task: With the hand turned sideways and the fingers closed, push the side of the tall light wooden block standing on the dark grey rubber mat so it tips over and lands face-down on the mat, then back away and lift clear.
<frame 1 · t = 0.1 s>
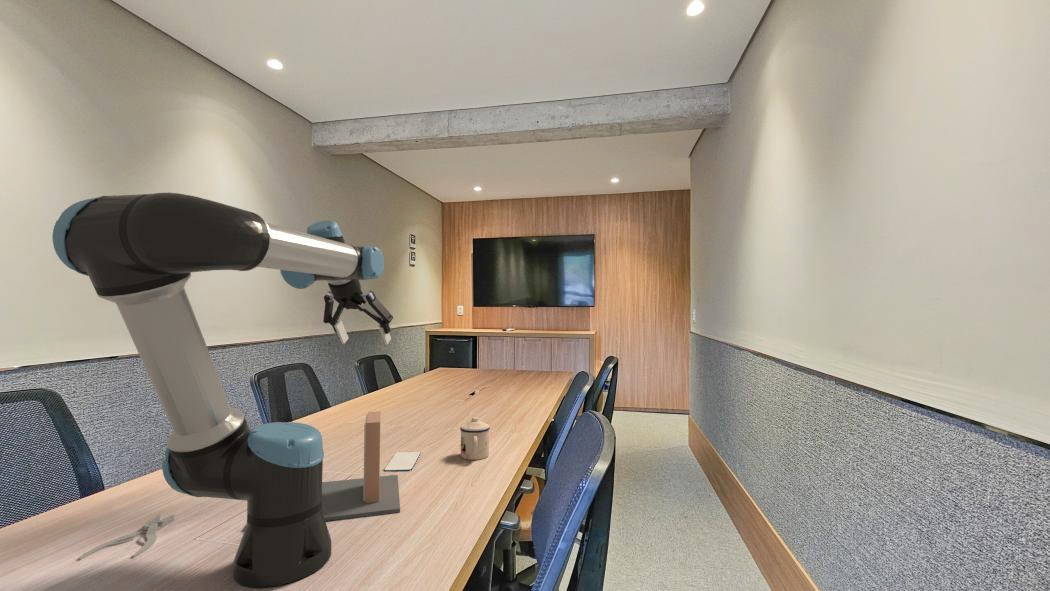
hand: (366, 341, 130), 36 cm above the table, tool tilted 35°, fingers open, 13 cm apart
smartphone: (403, 463, 133), on the table
teacup with lid: (474, 458, 138), on the table
rubber mat: (332, 500, 105), on the table
light wooden block: (372, 492, 108), point 1 cm above the table, touching rubber mat
pliers: (138, 541, 88), on the table
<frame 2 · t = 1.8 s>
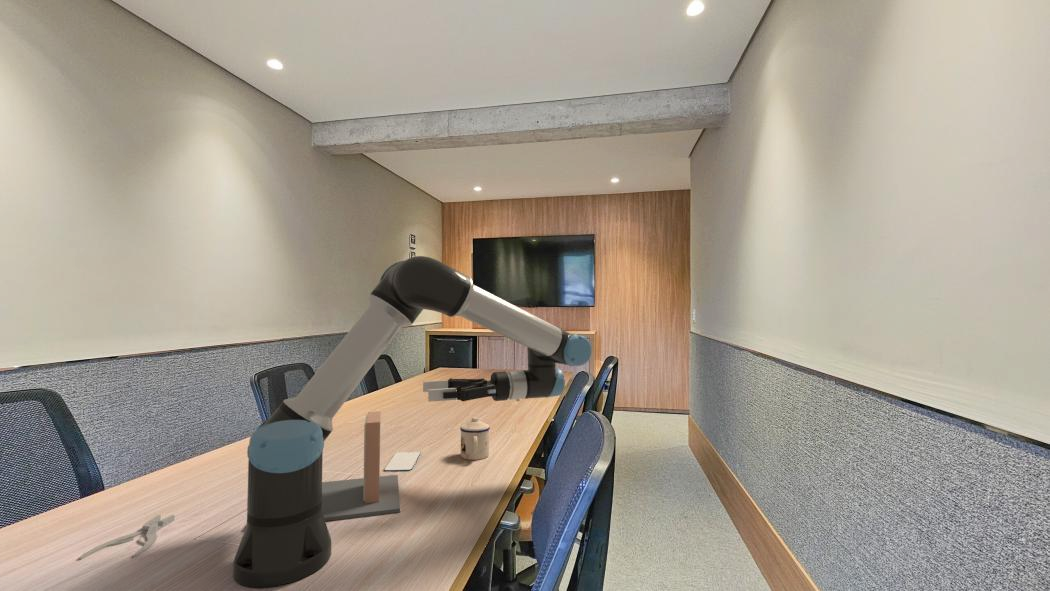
hand: (425, 391, 113), 24 cm above the table, tool horizontal, fingers open, 13 cm apart
nothing on the table moved.
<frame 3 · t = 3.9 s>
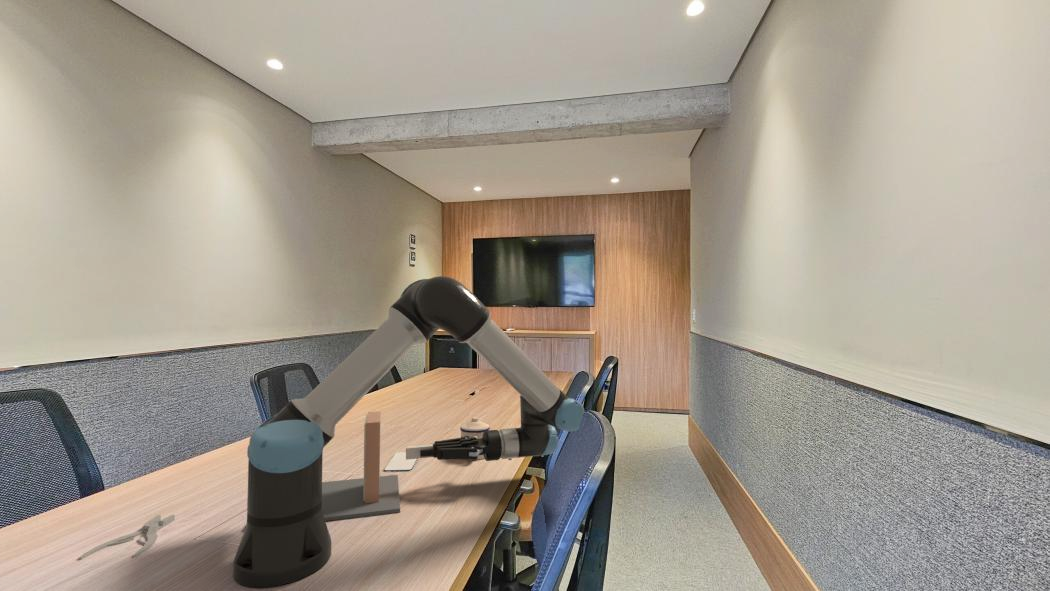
hand: (406, 453, 111), 9 cm above the table, tool horizontal, fingers closed
nothing on the table moved.
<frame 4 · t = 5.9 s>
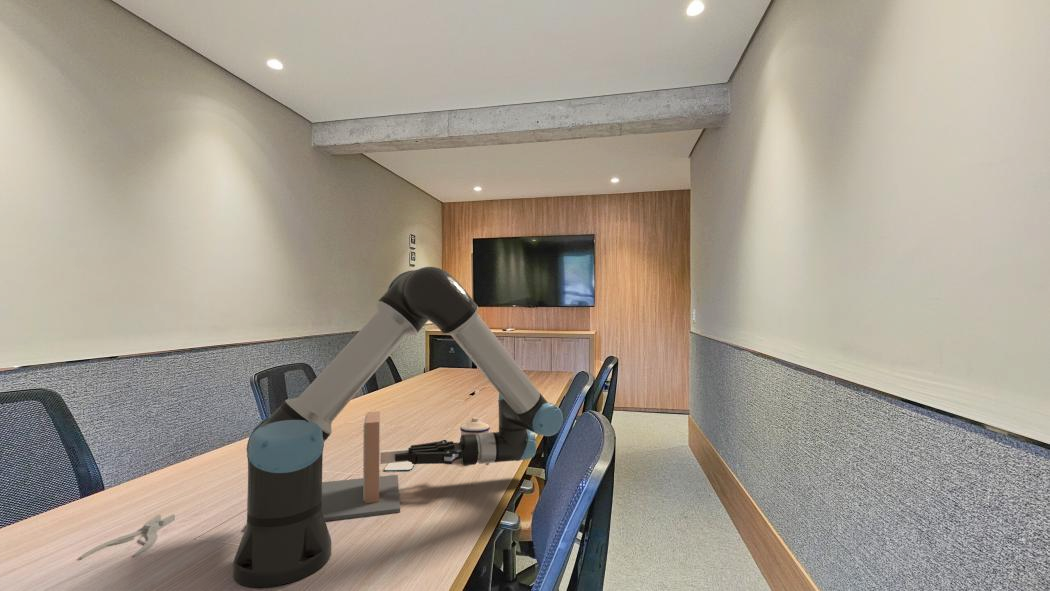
hand: (380, 457, 109), 9 cm above the table, tool horizontal, fingers closed
light wooden block: (372, 492, 108), point 1 cm above the table, touching gripper, rubber mat
everything else where it was.
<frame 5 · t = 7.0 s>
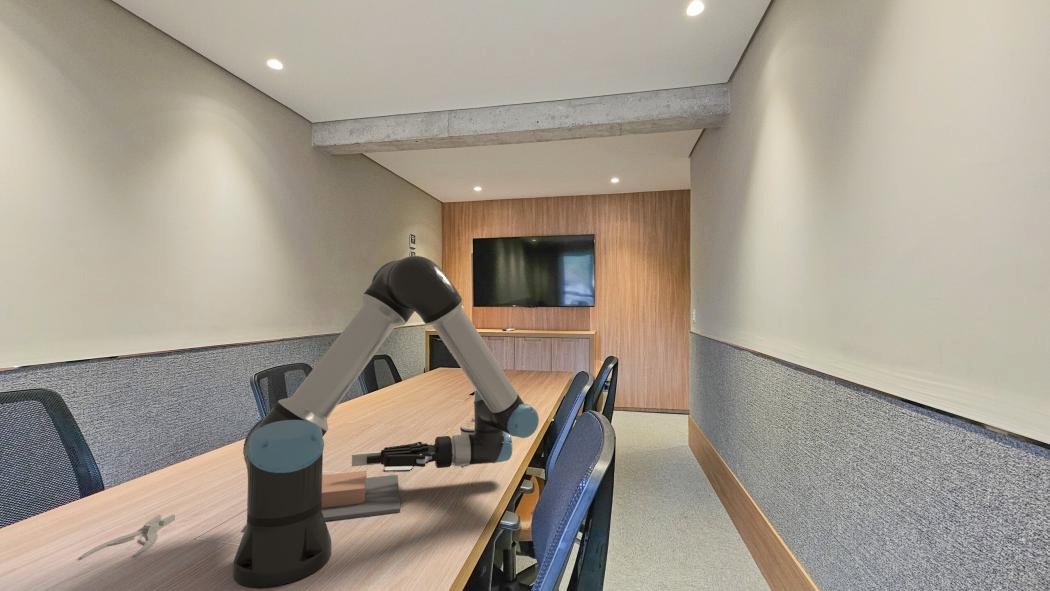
hand: (352, 459, 108), 9 cm above the table, tool horizontal, fingers closed
light wooden block: (365, 485, 108), point 3 cm above the table, tilted 90°, touching rubber mat
everything else where it was.
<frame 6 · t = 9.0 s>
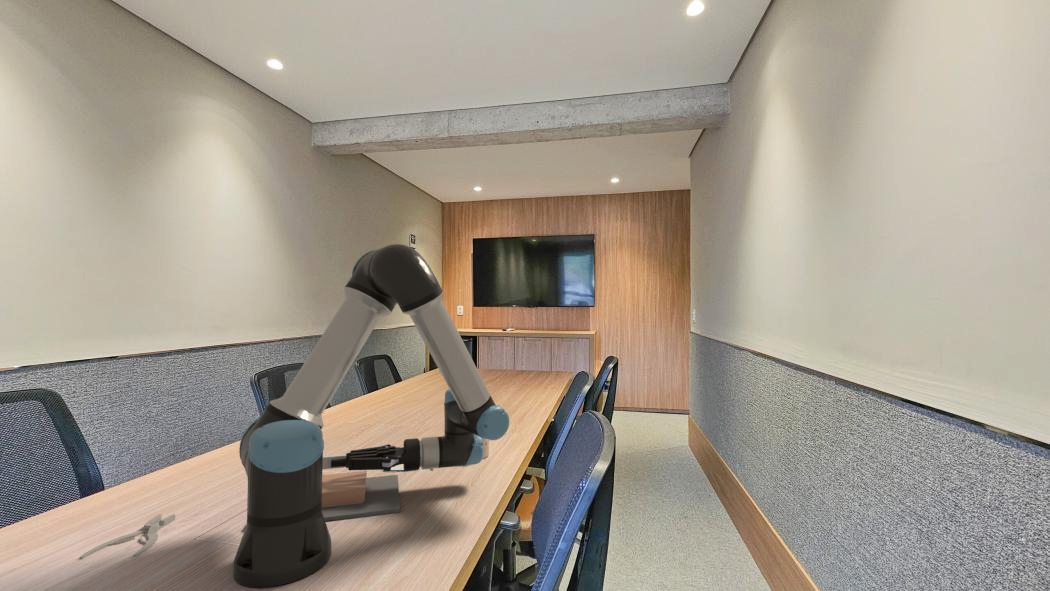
hand: (316, 463, 105), 9 cm above the table, tool horizontal, fingers closed
nothing on the table moved.
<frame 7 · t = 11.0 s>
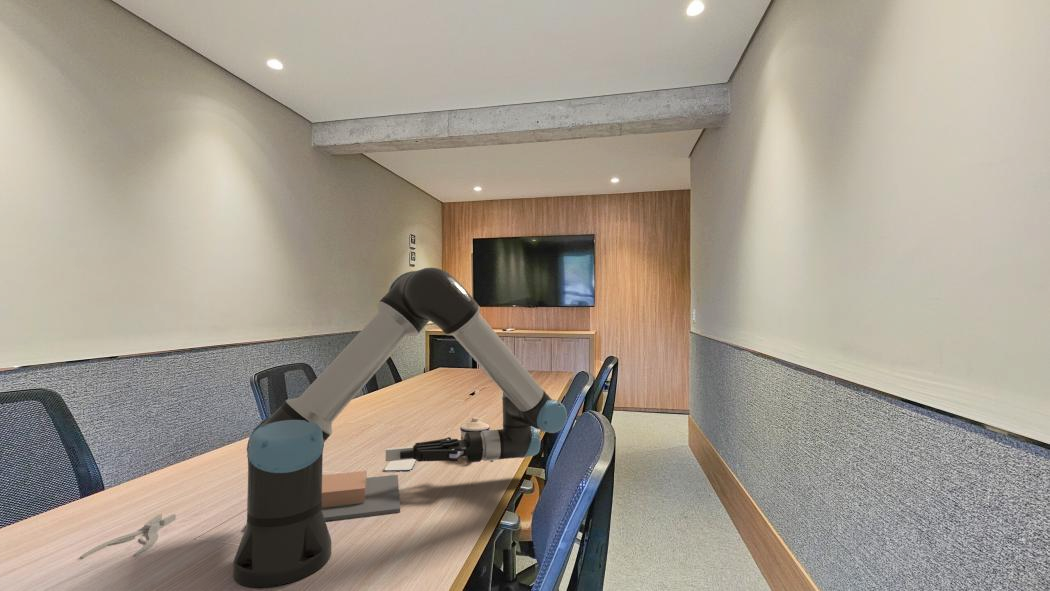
hand: (385, 454, 110), 9 cm above the table, tool horizontal, fingers closed
nothing on the table moved.
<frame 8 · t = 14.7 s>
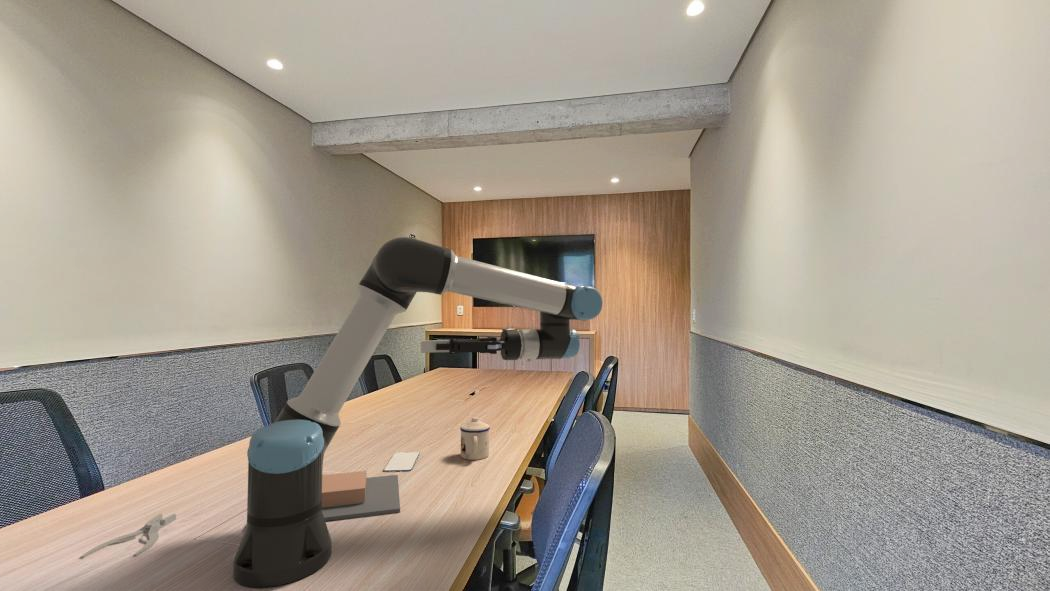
hand: (421, 346, 105), 36 cm above the table, tool horizontal, fingers closed
nothing on the table moved.
at the end: light wooden block tilted 90°; light wooden block inside the target area (1.4 cm from its centre), point 2.7 cm above the table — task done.
